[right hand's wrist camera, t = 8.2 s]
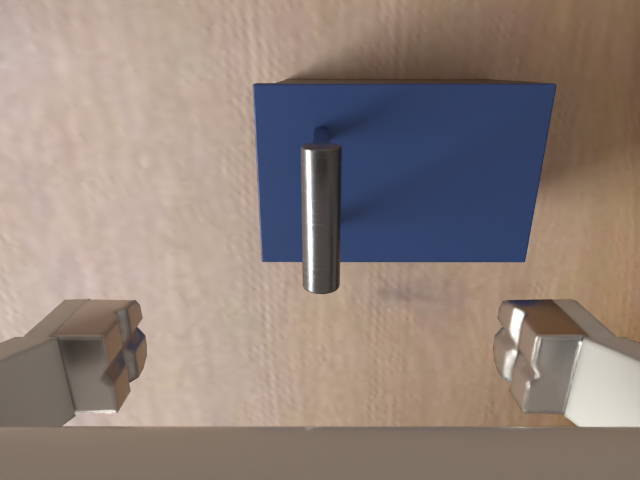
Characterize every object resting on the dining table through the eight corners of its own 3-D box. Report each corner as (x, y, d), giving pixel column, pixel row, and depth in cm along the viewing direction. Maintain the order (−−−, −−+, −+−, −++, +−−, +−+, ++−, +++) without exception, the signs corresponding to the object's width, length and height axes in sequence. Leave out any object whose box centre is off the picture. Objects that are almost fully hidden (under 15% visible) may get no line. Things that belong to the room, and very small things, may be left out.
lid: (263, 255, 26) (238, 336, 18) (255, 83, 23) (219, 90, 15) (517, 255, 26) (603, 336, 18) (547, 83, 23) (668, 91, 15)
